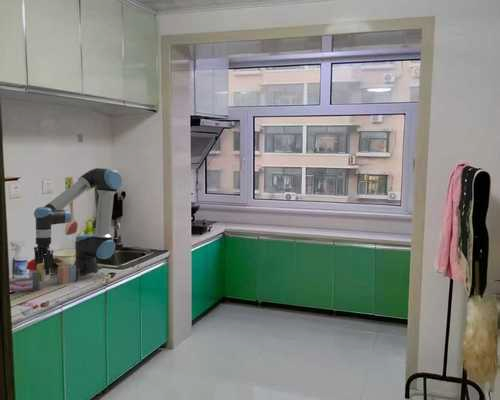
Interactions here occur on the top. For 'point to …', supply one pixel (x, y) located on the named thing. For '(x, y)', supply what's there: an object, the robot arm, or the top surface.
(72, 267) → the book slate
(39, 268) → the book ochre
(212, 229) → the top surface
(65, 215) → the robot arm
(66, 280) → the book terracotta
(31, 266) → the mushroom
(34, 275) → the bookend
